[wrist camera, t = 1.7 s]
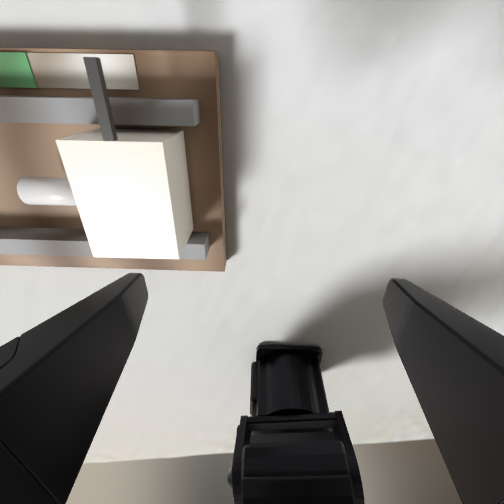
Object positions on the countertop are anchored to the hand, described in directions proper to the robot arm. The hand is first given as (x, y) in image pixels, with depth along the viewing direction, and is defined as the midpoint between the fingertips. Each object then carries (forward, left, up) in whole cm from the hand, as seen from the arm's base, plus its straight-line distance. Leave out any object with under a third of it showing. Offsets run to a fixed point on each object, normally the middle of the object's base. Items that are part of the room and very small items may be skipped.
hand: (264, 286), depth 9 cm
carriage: (+9, -2, -10) cm, 14 cm away
